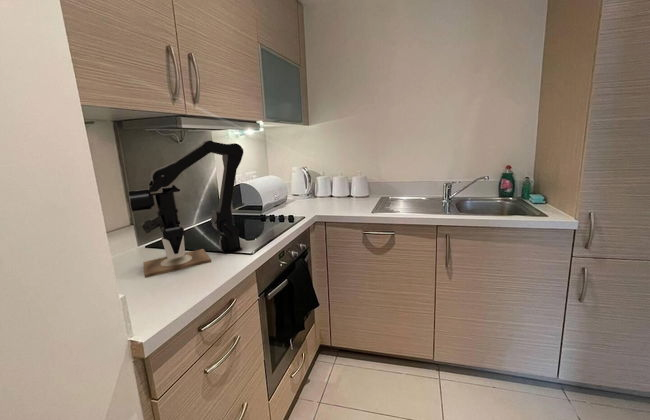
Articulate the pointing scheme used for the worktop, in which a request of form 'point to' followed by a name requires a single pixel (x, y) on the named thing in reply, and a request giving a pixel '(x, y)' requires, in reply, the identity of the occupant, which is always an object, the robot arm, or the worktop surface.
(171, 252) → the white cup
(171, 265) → the serving board
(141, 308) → the worktop surface
